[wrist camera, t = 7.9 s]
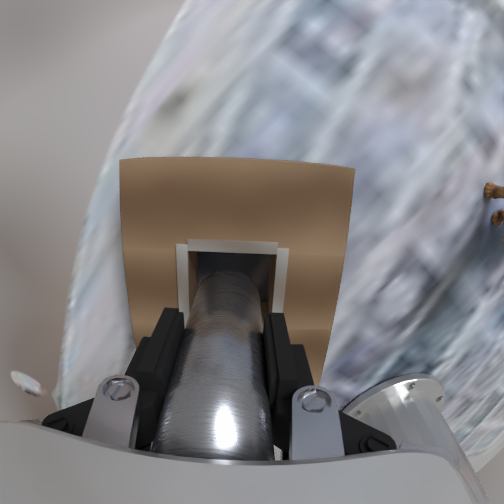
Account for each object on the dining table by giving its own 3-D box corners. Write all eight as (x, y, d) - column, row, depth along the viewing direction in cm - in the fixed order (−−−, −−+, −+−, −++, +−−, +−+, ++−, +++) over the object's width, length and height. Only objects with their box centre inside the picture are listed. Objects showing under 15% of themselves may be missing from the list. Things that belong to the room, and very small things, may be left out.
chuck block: (310, 355, 22) (319, 387, 19) (154, 348, 22) (141, 379, 18) (335, 165, 18) (356, 168, 14) (141, 157, 17) (118, 159, 14)
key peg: (264, 333, 16) (286, 561, 5) (190, 329, 16) (138, 550, 4) (270, 263, 15) (320, 522, 3) (187, 260, 15) (85, 500, 3)
